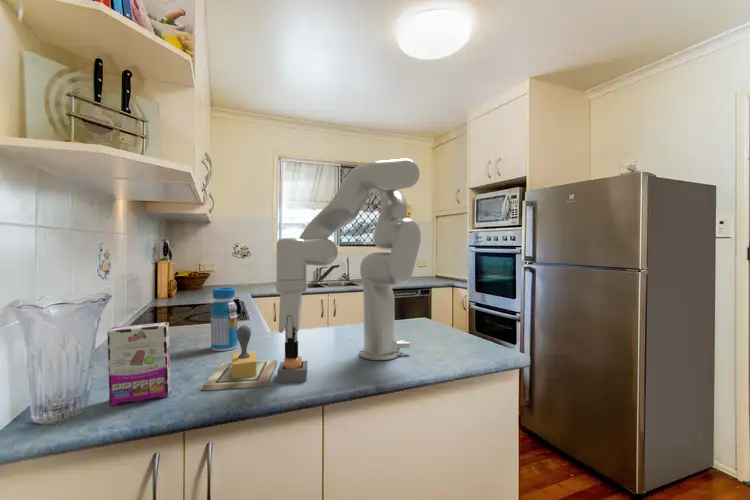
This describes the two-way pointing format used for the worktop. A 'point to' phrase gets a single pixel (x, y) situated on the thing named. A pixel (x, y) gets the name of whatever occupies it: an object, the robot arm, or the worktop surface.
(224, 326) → the beverage bottle
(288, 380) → the button housing
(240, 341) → the rubber stamp
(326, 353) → the worktop surface
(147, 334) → the candy bar box
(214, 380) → the picture board
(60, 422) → the worktop surface
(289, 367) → the button
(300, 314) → the robot arm
